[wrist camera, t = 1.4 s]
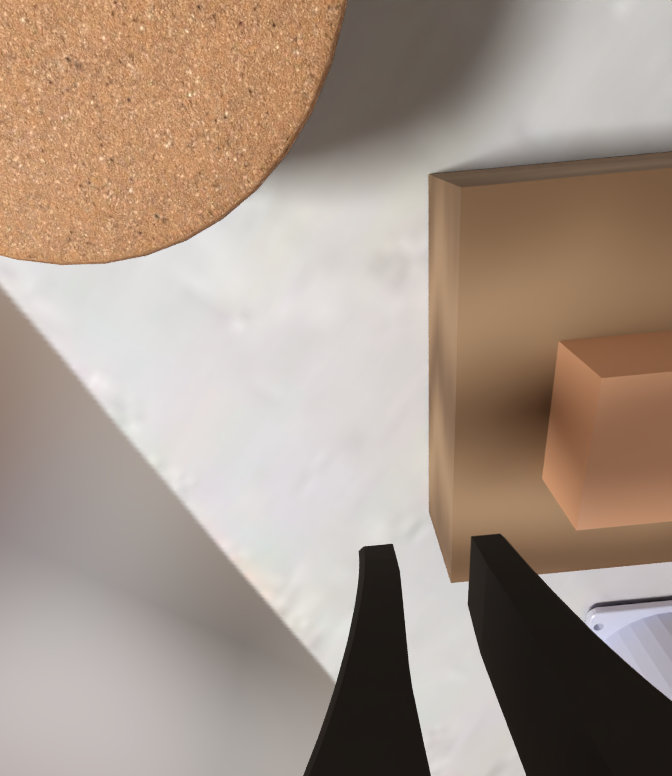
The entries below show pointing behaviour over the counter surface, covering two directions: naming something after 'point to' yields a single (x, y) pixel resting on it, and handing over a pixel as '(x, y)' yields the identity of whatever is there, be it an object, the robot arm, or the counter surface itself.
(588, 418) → the tile
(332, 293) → the counter surface
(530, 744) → the robot arm
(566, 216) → the dark wood platform
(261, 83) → the lidded jar
